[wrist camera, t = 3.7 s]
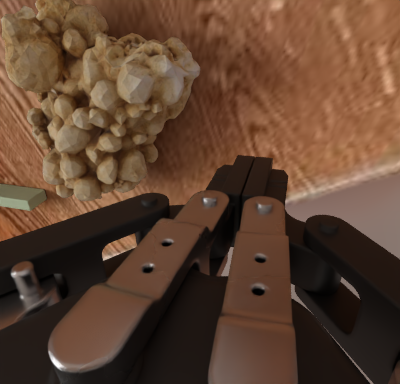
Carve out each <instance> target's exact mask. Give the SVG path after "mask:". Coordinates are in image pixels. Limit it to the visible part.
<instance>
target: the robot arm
mask: <svg viewBox="0 0 400 384" xmlns="http://www.w3.org/2000/svg"><path fill="white" fill-rule="evenodd" d="M272 164H273V158H266V157H254V156H242V155H238V156H237V158H236V160H235V162H234V164H233V165H224V166H222V167H220V168H218V169H217V171H216V173H215V175H214V176H213V178H212V180H211V181H210V183H209V185H208V187H207V188H206V190H205V191H200V192H197V193H195V194H194V195H193V196H192V197H191V198H190V200H189V201H188V202H187V203H186V204H185V205H172V206H169V199H168V197H167V196H165V195H163V194H160V193H146V194H142V195H139V196H136V197H133V198H130V199H127V200H124V201H121V202H118V203H115V204H112V205H109V206H106V207H103V208H100V209H97V210H94V211H91V212H88V213H85V214H82V215H79V216H76V217H73V218H70V219H67V220H64V221H61V222H58V223H55V224H52V225H49V226H46V227H43V228H40V229H37V230H34V231H31V232H28V233H25V234H22V235H19V236H16V237H13V238H10V239H7V240H4V241H1V242H0V384H370V383H369V382H368V380H367V379H366V378H365V377H364V375H363V374H362V373H361V372H360V370H359V369H358V368H357V367H356V366H355V365H354V363H353V362H352V361H351V360H350V359H349V357H348V356H347V355H346V354H345V352H344V351H343V350H342V348H343V349H344V350H345V351H346V352H347V353H348V355H349V356H350V357H351V358H352V359H353V360H354V362H355V363H356V364H357V365H358V366H359V367H360V368H361V370H363V372H364V373H365V374H366V375H367V376H368V378H369V379H370V380H371V381H372V382H373V383H374V384H400V260H399V259H398V258H397V257H396V256H394V255H393V254H391V253H390V252H388V251H387V250H386V249H384V248H383V247H381V246H380V245H378V244H377V243H375V242H374V241H372V240H371V239H370V238H368V237H367V236H366V235H364V234H362V233H361V232H360V231H358V230H357V229H356V228H354V227H353V226H351V225H350V224H348V223H347V222H345V221H344V220H342V219H340V218H337V217H334V216H329V215H315V216H312V217H310V218H308V219H307V220H306V223H305V222H302V221H299V220H297V219H295V218H293V217H291V216H290V215H289V214H287V212H286V210H285V200H286V191H287V183H288V175H287V174H286V172H285V171H284V170H276V169H272ZM134 233H135V236H136V243H137V246H136V248H133V249H131V250H128V251H126V252H124V253H121V254H119V255H117V256H114V257H112V258H109V259H107V260H105V261H103V258H102V251H103V249H104V247H105V246H106V245H107V244H109V243H111V242H113V241H116V240H118V239H121V238H123V237H126V236H128V235H131V234H134ZM230 247H234V249H233V255H232V260H231V265H230V271H229V276H221V274H222V272H223V270H224V267H225V265H226V263H227V259H228V257H227V256H228V252H229V249H230ZM341 277H343V278H344V279H345V280H346V281H348V283H350V284H351V285H352V286H353V287H354V288H355V289H356V291H357V292H358V294H359V297H360V299H359V298H358V297H357V296H356V295H354V294H353V293H352V292H351V291H350V290H349V289H348V288H347V287H346V286H345V285H344V284H342V283H341V282H340V281H341ZM291 284H293V285H295V292H296V294H297V296H298V297H299V298H300V300H301V301H302V302H303V303H304V304H305V305H306V307H307V308H308V309H309V310H310V311H311V312H312V313H313V314H312V313H311V312H310V311H309V310H308V309H306V308H305V307H304V306H302V305H301V304H300V303H298V302H296V301H295V300H294V299H292V298H291ZM319 321H320V322H319ZM323 326H324V327H325V328H326V329H327V330H326V329H325V328H324V327H323ZM328 332H329V333H330V334H331V335H332V336H333V337H334V339H335V340H336V341H337V342H338V343H339V344H340V345H341V347H342V348H341V347H340V346H339V345H338V344H337V343H336V341H335V340H334V339H333V338H332V336H331V335H330V334H329V333H328Z"/></svg>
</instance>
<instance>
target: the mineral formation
mask: <svg viewBox="0 0 400 384" xmlns="http://www.w3.org/2000/svg"><path fill="white" fill-rule="evenodd" d="M35 5H36V8H37V10H38V12H39V13H38V15H37V16H36V14H35V12H34V11H33V9H31V8H29V7H27V6H23V7H22V9H21V10H20V11H18V12H17V13H15V14H5V16H4V17H3V18H2V19H1V23H2V38H3V39H4V40H5V52H6V55H5V64H6V71H7V73H8V76H9V78H10V79H11V80H12V81H13V82H14V83H15V84H16V85H17V86H18V87H21V88H23V89H25V91H31V92H34V93H37V97H38V101H39V102H41V103H42V104H41V109H38V108H32V109H30V110H29V111H28V115H27V120H28V122H29V123H30V124H32V125H33V129H32V134H33V136H34V137H35V139H36V140H37V141H38V143H39V144H40V145H41V147H42V148H43V149H49V147H50V148H51V151H50V152H49V153H48V154H47V155H46V156H45V157H44V159H43V177H44V180H45V181H46V182H47V183H49V184H55V185H56V191H57V195H59V196H61V197H63V198H68V197H70V196H72V195H73V194H75V196H76V198H77V199H79V200H80V201H91V200H95V199H101V198H102V196H101V193H108V192H111V191H113V190H114V189H115V190H116V191H119V192H122V193H124V192H128V191H130V190H132V189H134V188H135V187H136V185H138V184H139V182H140V181H141V179H143V178H145V176H146V174H147V172H148V171H147V168H146V164H145V161H146V162H149V163H152V162H154V161H156V159H157V157H158V150H157V149H156V147H155V146H154V144H153V142H154V141H155V139H156V138H157V136H156V134H158V133H159V132H161V131H162V129H163V127H164V123H165V122H166V121H167V120H168V119H175V118H176V117H177V116H178V115H179V114H180V113H181V111H182V110H183V109H184V107H185V104H186V102H187V100H188V97H189V95H190V93H191V86H192V83H193V79H195V78H196V77H197V76H199V73H200V69H201V68H200V67H199V65H198V64H197V62H196V61H195V60H194V59H192V54H191V52H190V51H189V50H188V49H187V47H186V46H185V45H184V44H183V43H182V42H181V41H180V40H179V39H178V38H176V37H171V38H169V39H168V40H167V41H165V42H164V43H162V42H160V41H157V40H154V39H152V40H150V41H147V40H145V39H144V38H143V37H141V36H140V35H138V34H134V33H131V34H129V35H127V36H125V37H121V38H120V39H119V40H117V39H116V38H115V37H108V35H107V34H108V30H109V27H108V25H107V22H106V19H105V18H104V17H103V16H102V15H101V14H100V12H99V11H98V9H97V8H96V6H93V5H89V4H86V5H76V4H75V3H74V2H73V1H72V0H37V1H36V3H35Z"/></svg>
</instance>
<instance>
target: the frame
mask: <svg viewBox="0 0 400 384" xmlns="http://www.w3.org/2000/svg"><path fill="white" fill-rule="evenodd" d="M46 199H47V197H46V194H45V190H43V189H36V188H29V187H21V186H14V185H7V184H0V206H3V207H10V208H16V209H22V210H29V211H31V210H32V209H34V208H35V207H37V206H38V205H39V204H41V203H42V202H44V201H45V200H46Z"/></svg>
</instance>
